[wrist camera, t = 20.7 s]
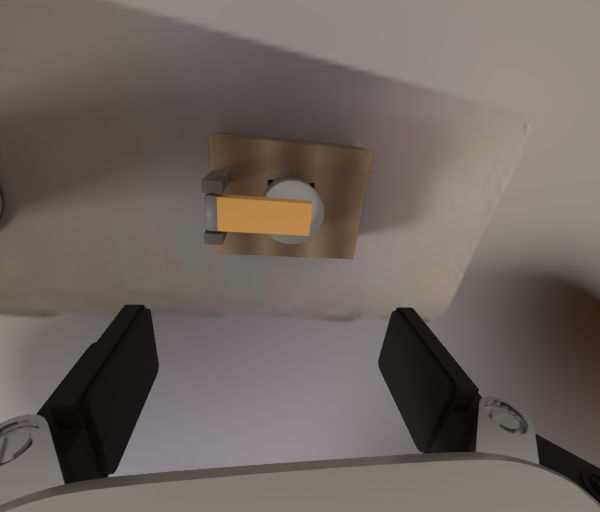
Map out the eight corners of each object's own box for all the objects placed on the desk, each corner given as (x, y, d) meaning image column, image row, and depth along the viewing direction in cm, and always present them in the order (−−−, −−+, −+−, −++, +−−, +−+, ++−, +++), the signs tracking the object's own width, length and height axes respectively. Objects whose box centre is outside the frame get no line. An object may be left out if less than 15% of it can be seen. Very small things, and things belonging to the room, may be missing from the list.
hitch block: (220, 234, 36) (203, 275, 26) (218, 133, 31) (196, 137, 21) (340, 240, 38) (366, 280, 29) (356, 146, 34) (394, 156, 24)
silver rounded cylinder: (260, 215, 35) (258, 242, 27) (262, 165, 33) (261, 179, 25) (307, 218, 36) (319, 245, 28) (312, 170, 34) (328, 184, 25)
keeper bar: (208, 225, 26) (204, 230, 24) (206, 192, 24) (203, 196, 23) (307, 231, 27) (309, 236, 26) (310, 200, 26) (312, 204, 24)
